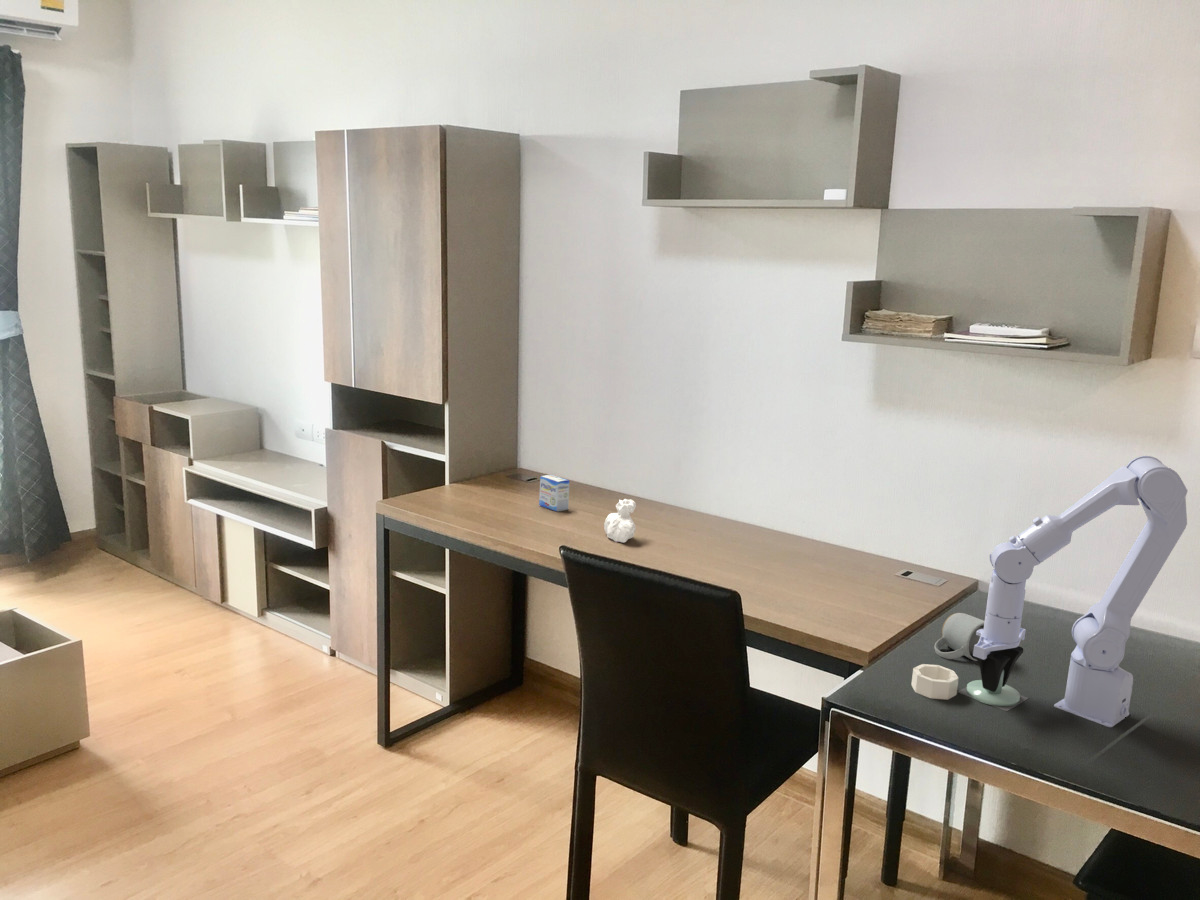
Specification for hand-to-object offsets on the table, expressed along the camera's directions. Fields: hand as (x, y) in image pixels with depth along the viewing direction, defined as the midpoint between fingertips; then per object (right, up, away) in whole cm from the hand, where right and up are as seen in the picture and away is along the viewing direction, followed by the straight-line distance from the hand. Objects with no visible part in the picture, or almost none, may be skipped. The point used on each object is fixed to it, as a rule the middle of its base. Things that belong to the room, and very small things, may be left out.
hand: (993, 687), depth 173 cm
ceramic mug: (+1, +2, +18) cm, 18 cm away
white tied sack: (-63, +18, +82) cm, 105 cm away
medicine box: (-81, +25, +108) cm, 137 cm away
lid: (0, -1, 0) cm, 2 cm away
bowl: (-10, -1, +2) cm, 10 cm away
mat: (0, -2, 0) cm, 2 cm away
